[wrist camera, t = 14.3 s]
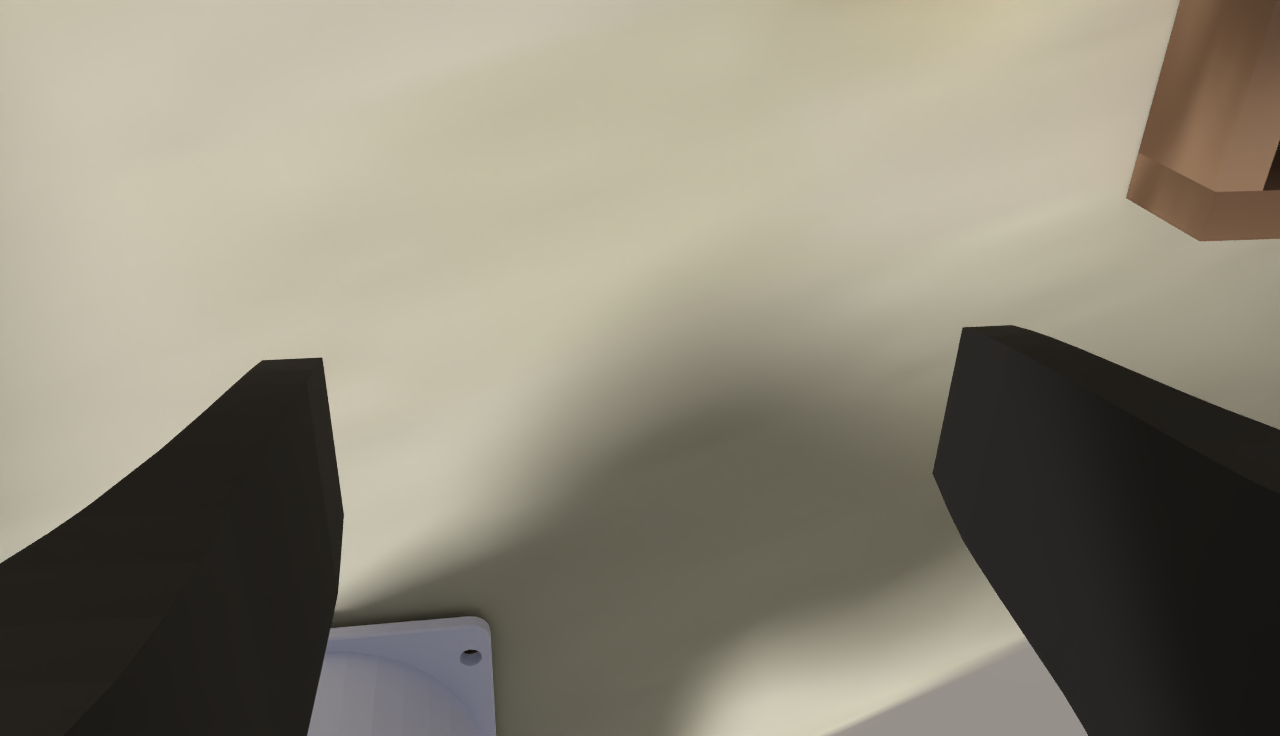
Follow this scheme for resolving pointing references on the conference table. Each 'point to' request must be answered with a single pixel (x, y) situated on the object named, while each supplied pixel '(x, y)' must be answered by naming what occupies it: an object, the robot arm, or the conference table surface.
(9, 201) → the conference table surface
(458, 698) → the robot arm
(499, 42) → the conference table surface
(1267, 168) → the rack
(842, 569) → the conference table surface
